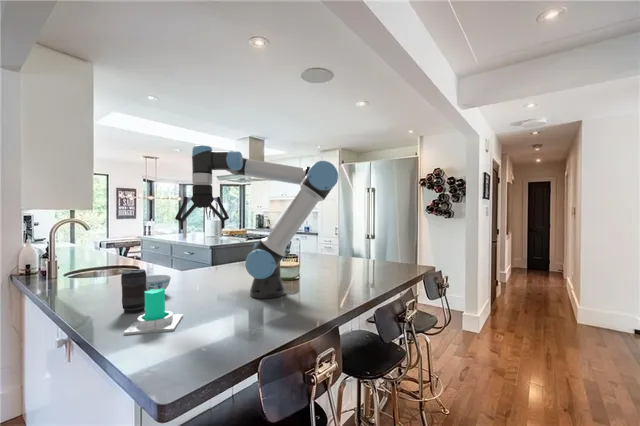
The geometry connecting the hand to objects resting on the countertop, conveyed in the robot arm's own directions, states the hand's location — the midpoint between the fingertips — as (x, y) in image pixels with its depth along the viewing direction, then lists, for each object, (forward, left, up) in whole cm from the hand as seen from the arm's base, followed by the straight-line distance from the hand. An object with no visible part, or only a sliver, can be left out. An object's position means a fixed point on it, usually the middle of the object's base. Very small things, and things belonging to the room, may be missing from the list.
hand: (203, 237), depth 127 cm
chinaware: (+24, -19, -27) cm, 41 cm away
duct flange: (+12, +22, -27) cm, 36 cm away
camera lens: (+24, +4, -27) cm, 36 cm away
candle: (+12, +22, -26) cm, 36 cm away
